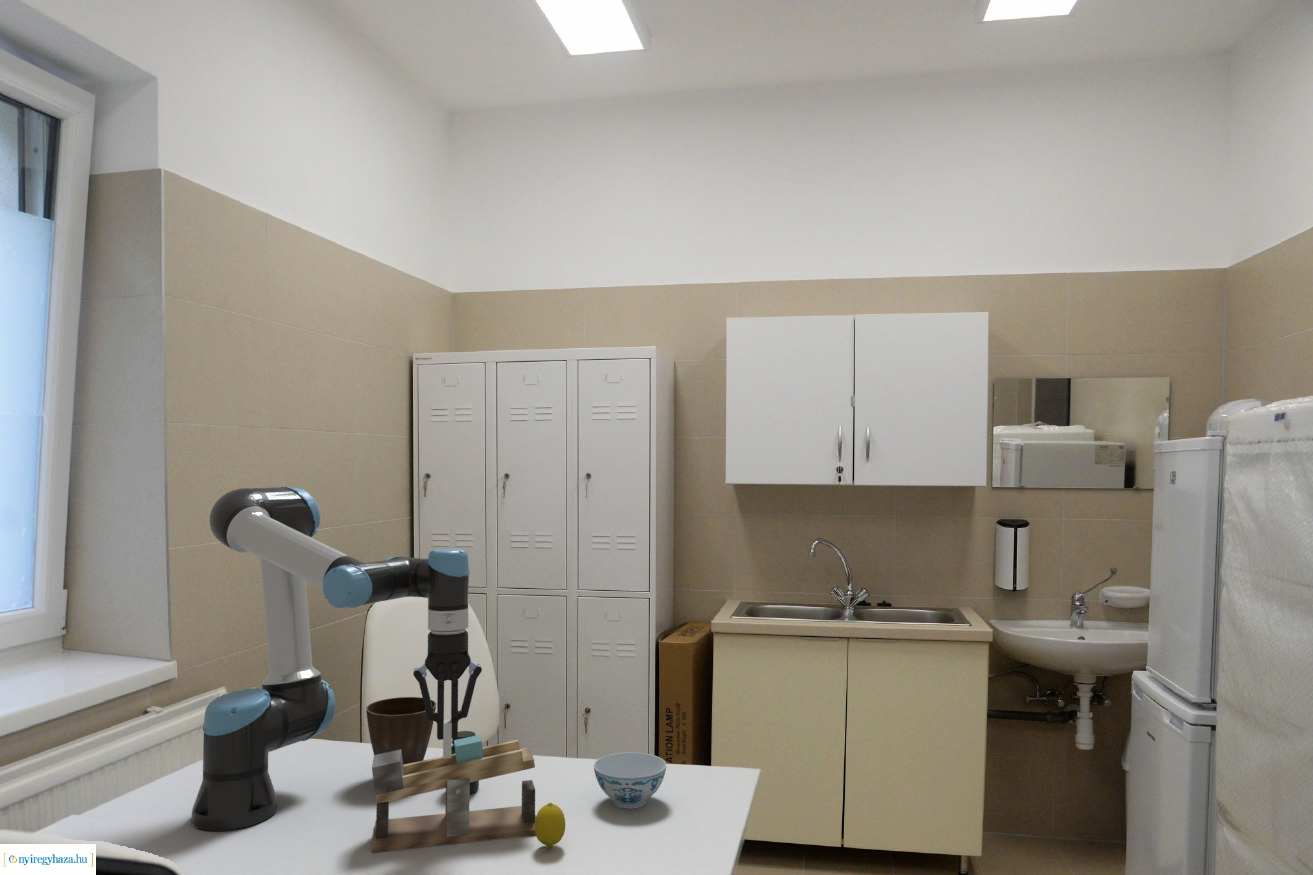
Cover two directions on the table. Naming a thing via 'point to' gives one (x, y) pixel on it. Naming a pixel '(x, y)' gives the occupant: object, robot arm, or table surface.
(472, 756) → the block
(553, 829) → the lemon
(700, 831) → the table surface
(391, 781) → the beam
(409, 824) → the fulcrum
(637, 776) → the chinaware
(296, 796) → the table surface
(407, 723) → the plant pot
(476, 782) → the supplement bottle
